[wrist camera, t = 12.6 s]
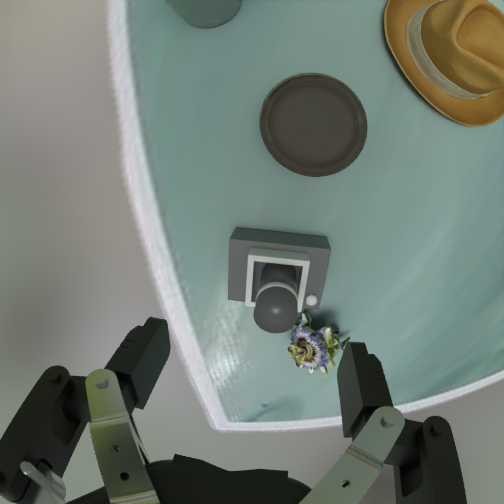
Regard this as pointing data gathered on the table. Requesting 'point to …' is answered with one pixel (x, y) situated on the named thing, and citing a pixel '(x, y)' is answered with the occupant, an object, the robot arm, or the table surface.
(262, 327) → the lens
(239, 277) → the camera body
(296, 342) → the passion flower
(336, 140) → the coffee can
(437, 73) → the fedora
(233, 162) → the table surface
